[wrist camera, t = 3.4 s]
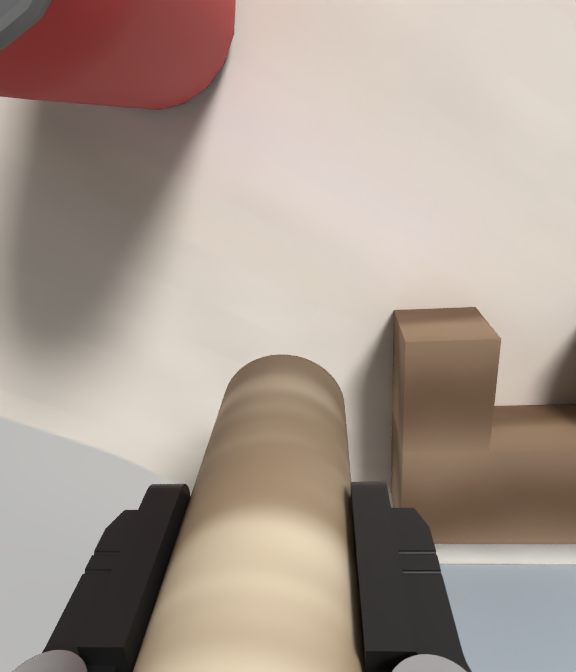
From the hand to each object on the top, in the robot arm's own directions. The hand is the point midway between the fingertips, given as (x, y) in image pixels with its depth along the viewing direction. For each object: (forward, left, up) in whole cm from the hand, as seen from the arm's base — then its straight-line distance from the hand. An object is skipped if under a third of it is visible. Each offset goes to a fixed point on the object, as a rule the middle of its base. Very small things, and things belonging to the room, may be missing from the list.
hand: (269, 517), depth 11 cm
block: (+5, +10, -13) cm, 17 cm away
